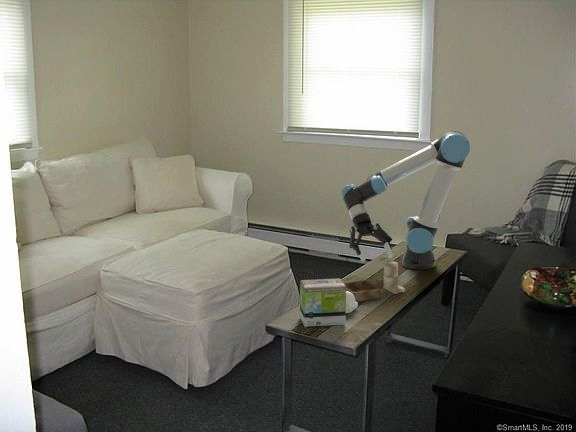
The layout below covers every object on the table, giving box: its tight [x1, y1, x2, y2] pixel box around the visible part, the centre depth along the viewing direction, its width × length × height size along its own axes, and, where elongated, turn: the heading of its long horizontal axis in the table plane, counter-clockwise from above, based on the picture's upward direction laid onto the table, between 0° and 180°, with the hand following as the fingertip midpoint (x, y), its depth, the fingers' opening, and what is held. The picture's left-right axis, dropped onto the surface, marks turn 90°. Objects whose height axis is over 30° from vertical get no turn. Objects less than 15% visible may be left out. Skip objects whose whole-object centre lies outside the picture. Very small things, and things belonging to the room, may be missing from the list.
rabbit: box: [346, 291, 359, 314], centre depth 247 cm, size 12×9×12 cm
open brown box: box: [343, 279, 381, 303], centre depth 264 cm, size 12×13×4 cm
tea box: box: [299, 278, 347, 328], centre depth 236 cm, size 15×10×15 cm, turn 99°
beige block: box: [383, 260, 406, 295], centre depth 270 cm, size 5×8×11 cm, turn 26°
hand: (377, 258), depth 277 cm, fingers open, 13 cm apart
